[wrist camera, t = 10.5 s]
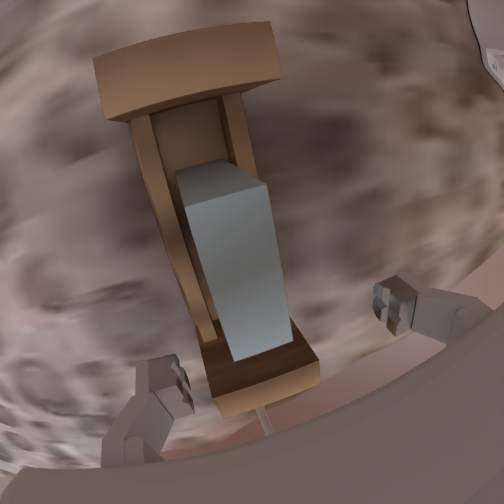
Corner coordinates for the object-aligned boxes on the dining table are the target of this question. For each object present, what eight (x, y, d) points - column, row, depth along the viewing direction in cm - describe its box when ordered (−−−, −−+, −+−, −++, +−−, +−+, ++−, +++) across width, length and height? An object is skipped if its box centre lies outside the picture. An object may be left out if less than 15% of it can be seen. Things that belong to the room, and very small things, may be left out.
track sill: (276, 314, 30) (320, 383, 21) (202, 339, 29) (223, 418, 20) (225, 61, 19) (270, 21, 10) (122, 86, 18) (92, 58, 9)
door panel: (245, 264, 25) (293, 340, 16) (205, 277, 24) (234, 361, 16) (221, 158, 21) (266, 184, 12) (174, 171, 20) (184, 207, 12)
